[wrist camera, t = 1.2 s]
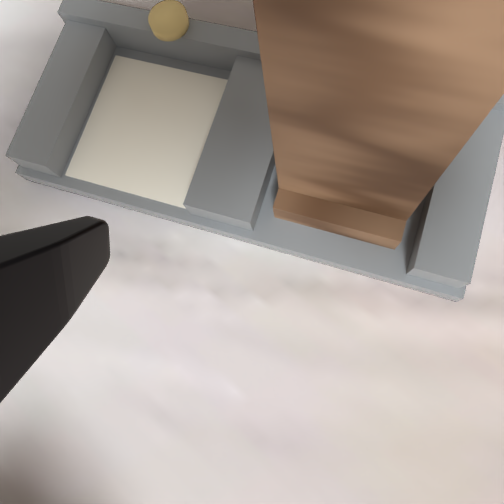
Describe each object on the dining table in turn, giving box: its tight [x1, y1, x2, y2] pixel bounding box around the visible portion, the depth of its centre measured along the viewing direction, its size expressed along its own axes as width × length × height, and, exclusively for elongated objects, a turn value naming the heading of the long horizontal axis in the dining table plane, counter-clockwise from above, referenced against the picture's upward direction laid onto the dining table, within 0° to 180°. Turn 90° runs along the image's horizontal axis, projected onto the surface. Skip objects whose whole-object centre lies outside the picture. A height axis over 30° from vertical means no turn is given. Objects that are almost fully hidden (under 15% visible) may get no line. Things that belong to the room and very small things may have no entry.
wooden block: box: [253, 0, 504, 250], centre depth 15 cm, size 6×6×14 cm
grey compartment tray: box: [6, 0, 504, 302], centre depth 23 cm, size 24×10×4 cm, turn 72°
